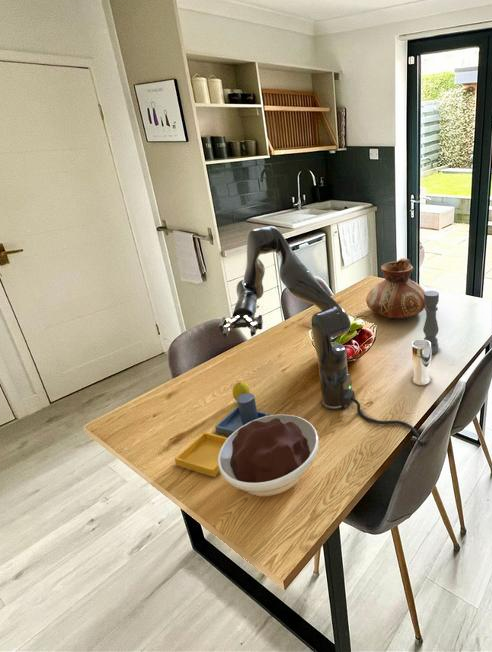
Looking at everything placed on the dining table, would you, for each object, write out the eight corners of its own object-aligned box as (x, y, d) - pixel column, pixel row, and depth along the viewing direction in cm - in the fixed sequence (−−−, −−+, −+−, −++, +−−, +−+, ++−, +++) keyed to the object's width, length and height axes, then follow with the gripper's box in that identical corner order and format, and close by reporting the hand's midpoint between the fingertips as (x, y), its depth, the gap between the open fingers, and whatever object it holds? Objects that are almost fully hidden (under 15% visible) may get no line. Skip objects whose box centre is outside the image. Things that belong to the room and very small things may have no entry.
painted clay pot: (429, 324, 184) (430, 273, 174) (365, 326, 184) (362, 275, 175) (424, 299, 211) (424, 254, 202) (368, 301, 212) (365, 256, 202)
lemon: (246, 408, 131) (242, 387, 128) (231, 406, 132) (227, 386, 129) (255, 398, 136) (251, 378, 133) (240, 396, 137) (236, 376, 134)
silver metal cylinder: (433, 377, 144) (434, 340, 138) (427, 387, 138) (427, 350, 132) (415, 373, 147) (415, 337, 141) (408, 383, 141) (408, 346, 135)
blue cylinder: (262, 418, 126) (257, 394, 122) (252, 428, 121) (247, 404, 118) (248, 415, 127) (244, 391, 124) (238, 425, 123) (233, 401, 119)
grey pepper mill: (421, 352, 161) (421, 295, 151) (425, 345, 166) (425, 289, 156) (435, 355, 158) (437, 297, 149) (439, 347, 164) (441, 291, 154)
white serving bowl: (278, 428, 121) (271, 387, 115) (341, 462, 108) (336, 417, 102) (204, 484, 103) (191, 438, 97) (268, 533, 89) (258, 484, 83)
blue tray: (270, 419, 125) (269, 413, 125) (249, 441, 117) (248, 435, 116) (238, 412, 129) (237, 406, 128) (216, 432, 121) (215, 426, 120)
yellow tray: (242, 447, 114) (240, 441, 113) (214, 477, 105) (212, 470, 104) (206, 437, 119) (204, 431, 118) (176, 465, 109) (174, 458, 108)
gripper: (223, 303, 146) (214, 327, 132) (263, 300, 148) (259, 324, 135) (226, 320, 150) (218, 345, 136) (265, 317, 152) (261, 342, 138)
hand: (238, 335), depth 135 cm, fingers open, 8 cm apart
